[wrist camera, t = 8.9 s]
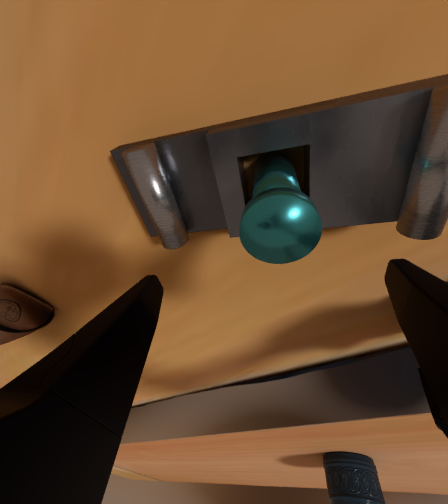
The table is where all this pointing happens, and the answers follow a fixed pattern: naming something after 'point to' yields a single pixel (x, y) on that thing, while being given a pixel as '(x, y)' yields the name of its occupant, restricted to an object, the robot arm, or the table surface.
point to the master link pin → (279, 213)
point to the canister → (352, 479)
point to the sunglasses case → (21, 313)
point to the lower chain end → (180, 181)
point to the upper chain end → (354, 157)
